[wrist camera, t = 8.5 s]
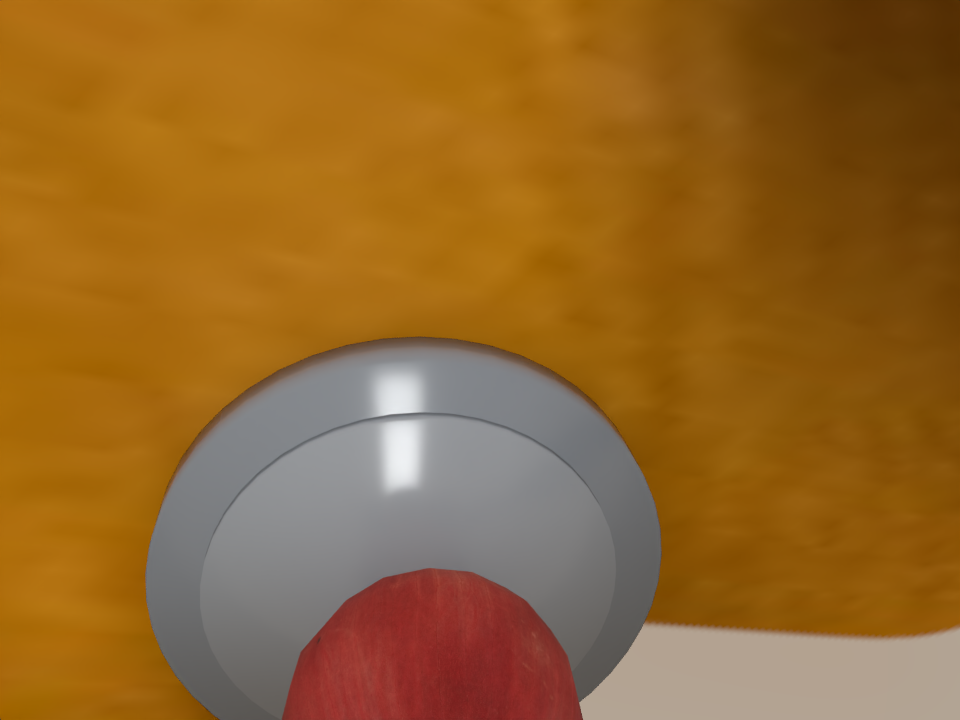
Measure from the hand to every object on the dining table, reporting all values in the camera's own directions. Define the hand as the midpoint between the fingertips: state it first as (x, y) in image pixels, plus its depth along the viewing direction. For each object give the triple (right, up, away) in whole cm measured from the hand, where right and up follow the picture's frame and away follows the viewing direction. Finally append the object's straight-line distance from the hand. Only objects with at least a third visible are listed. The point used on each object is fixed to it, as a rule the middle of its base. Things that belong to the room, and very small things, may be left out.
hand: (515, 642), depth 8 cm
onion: (-2, -3, +13) cm, 14 cm away
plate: (-2, -2, +14) cm, 15 cm away
